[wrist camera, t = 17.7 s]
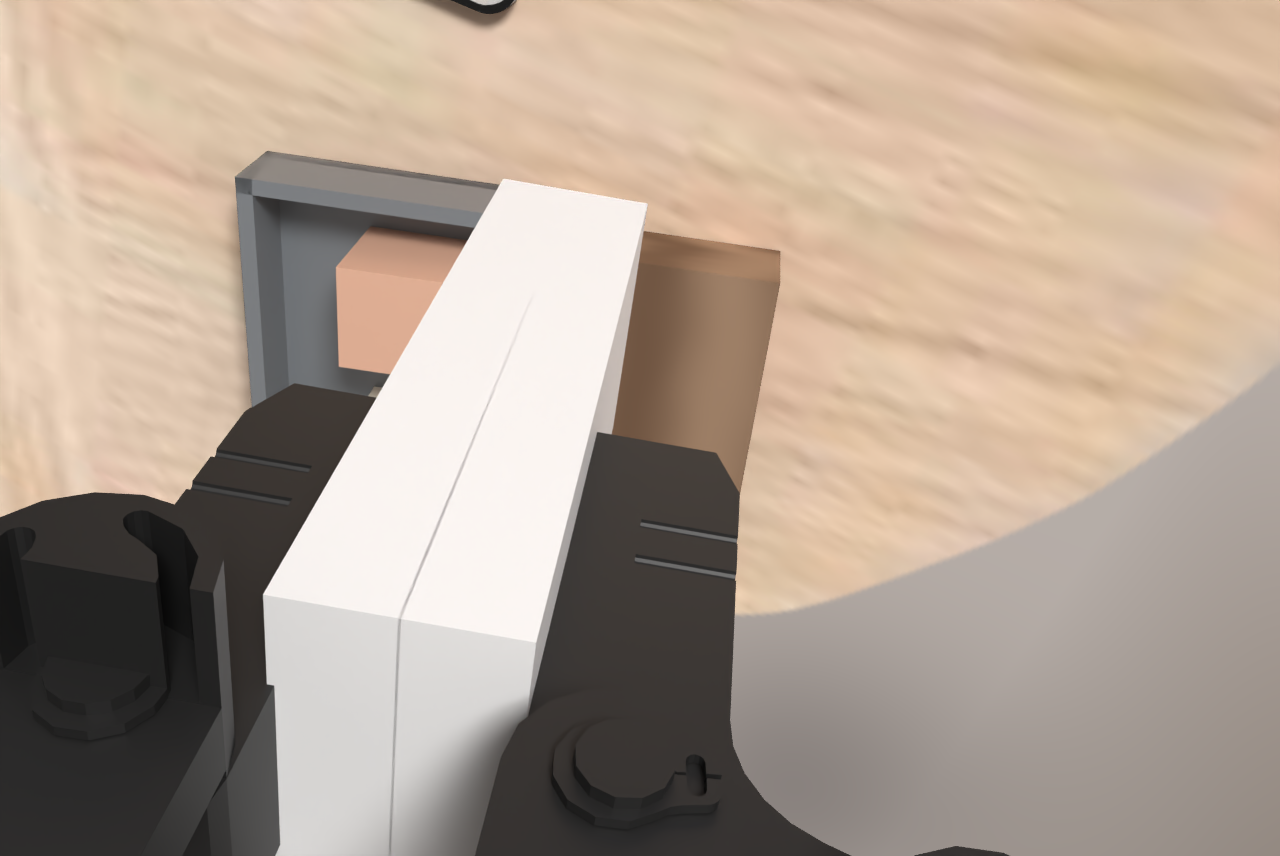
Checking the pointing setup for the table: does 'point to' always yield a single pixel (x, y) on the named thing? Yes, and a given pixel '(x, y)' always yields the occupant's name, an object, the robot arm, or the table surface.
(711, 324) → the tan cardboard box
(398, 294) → the terracotta block
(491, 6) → the smartphone
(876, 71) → the table surface
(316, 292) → the tray
